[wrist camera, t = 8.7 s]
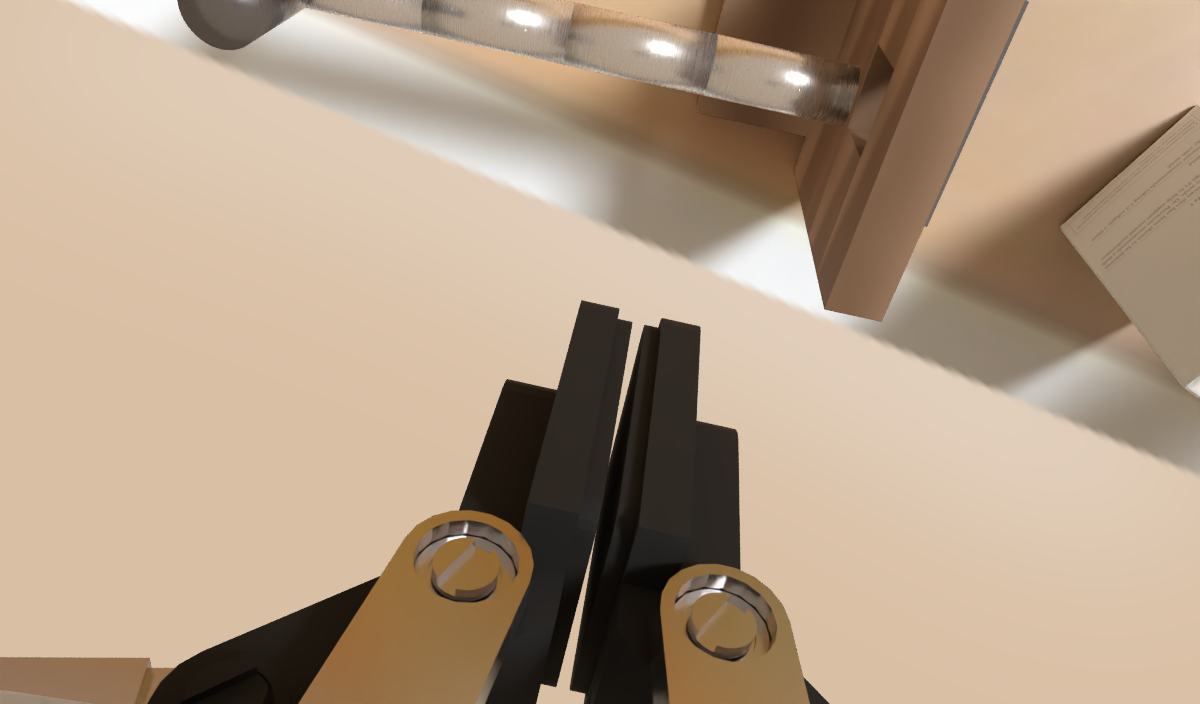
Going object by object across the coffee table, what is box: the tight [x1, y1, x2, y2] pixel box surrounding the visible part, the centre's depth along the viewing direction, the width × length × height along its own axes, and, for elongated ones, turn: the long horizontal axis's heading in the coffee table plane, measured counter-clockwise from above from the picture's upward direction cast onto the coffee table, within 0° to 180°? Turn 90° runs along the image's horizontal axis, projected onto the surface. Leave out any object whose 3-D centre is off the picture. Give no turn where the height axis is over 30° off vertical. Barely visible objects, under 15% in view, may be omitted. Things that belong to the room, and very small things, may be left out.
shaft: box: [177, 0, 860, 126], centre depth 28 cm, size 20×2×6 cm, turn 79°
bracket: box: [697, 0, 1025, 322], centre depth 31 cm, size 7×12×12 cm, turn 169°
